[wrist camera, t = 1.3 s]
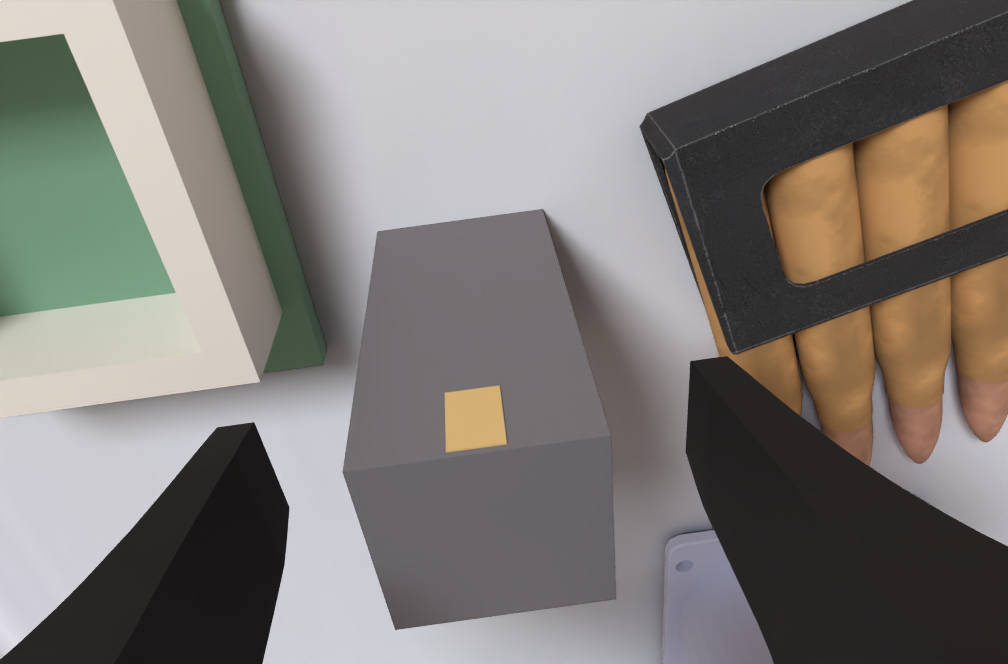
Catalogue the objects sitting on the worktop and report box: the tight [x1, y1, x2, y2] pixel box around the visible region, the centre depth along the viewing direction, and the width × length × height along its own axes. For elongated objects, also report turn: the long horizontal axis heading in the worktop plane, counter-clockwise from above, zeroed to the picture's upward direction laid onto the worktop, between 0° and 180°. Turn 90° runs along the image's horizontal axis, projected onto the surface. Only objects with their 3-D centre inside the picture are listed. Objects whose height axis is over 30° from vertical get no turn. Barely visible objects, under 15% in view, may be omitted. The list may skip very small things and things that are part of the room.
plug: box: [343, 209, 616, 630], centre depth 13 cm, size 4×4×7 cm
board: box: [0, 0, 327, 418], centre depth 12 cm, size 10×8×3 cm
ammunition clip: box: [640, 0, 1008, 466], centre depth 16 cm, size 11×2×12 cm
